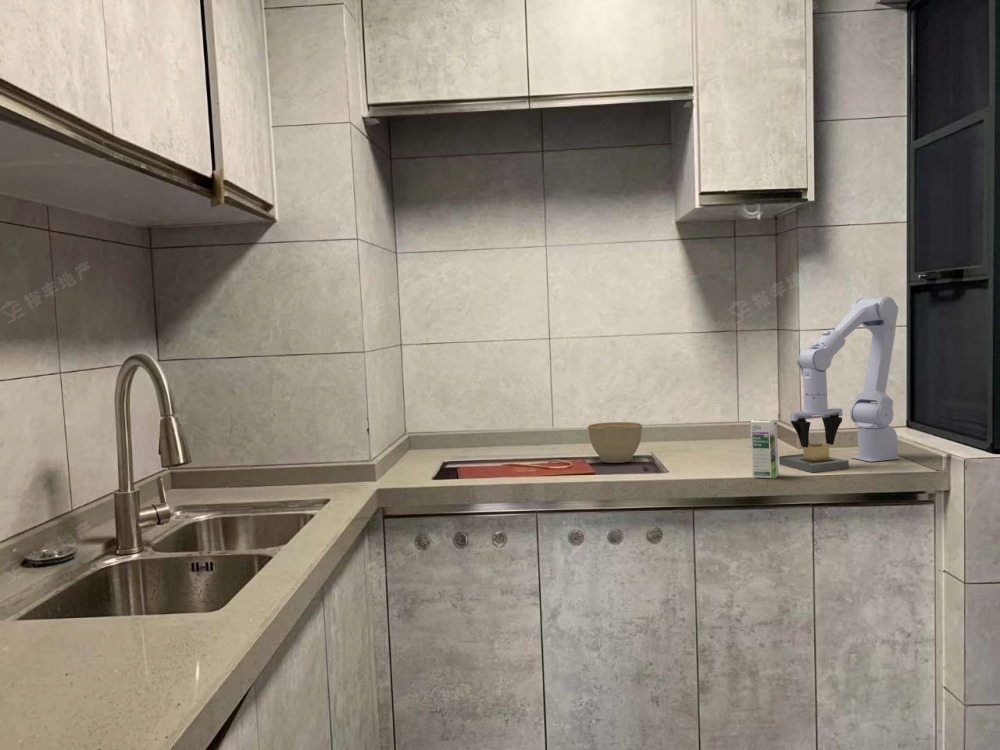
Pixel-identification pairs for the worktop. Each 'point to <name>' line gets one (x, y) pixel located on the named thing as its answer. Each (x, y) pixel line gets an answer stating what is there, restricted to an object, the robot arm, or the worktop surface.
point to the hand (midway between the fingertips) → (817, 445)
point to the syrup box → (764, 448)
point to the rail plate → (799, 463)
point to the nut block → (816, 453)
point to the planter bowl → (615, 440)
